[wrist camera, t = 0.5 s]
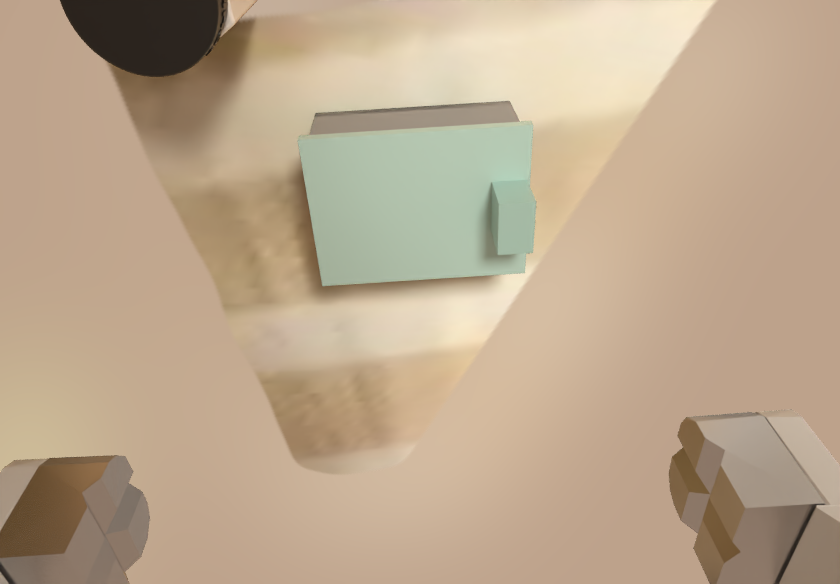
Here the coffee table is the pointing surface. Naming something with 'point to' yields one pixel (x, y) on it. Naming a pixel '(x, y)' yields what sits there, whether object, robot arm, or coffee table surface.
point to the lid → (420, 202)
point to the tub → (413, 117)
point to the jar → (153, 31)
